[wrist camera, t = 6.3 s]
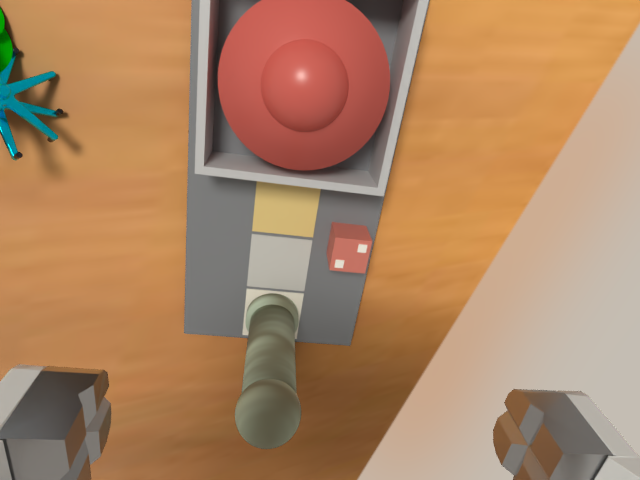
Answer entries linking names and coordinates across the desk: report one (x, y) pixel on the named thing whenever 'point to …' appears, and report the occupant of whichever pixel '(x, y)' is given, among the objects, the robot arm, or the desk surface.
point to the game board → (284, 195)
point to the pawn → (269, 374)
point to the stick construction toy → (3, 94)
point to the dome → (303, 81)
